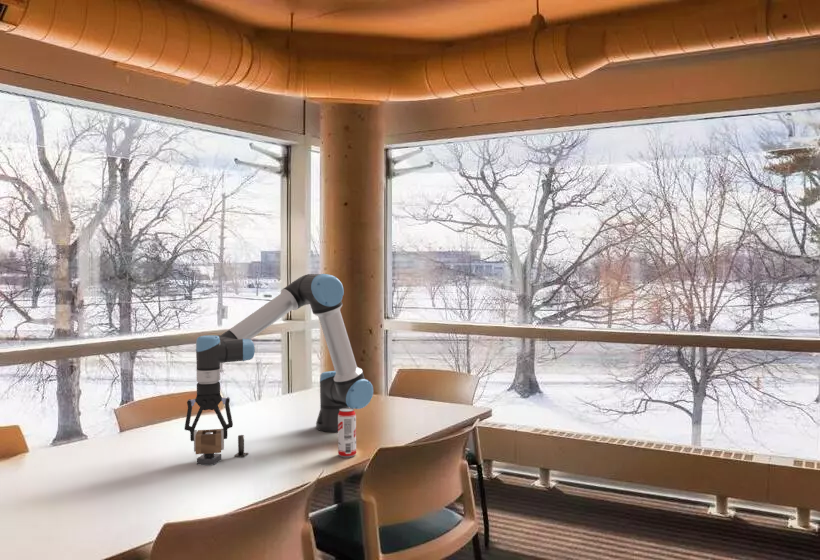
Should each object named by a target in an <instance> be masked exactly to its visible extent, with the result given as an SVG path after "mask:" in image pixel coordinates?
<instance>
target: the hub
mask: <svg viewBox="0 0 820 560" xmlns="http://www.w3.org/2000/svg"><path fill="white" fill-rule="evenodd" d="M205 434H213V432H207V433H205ZM222 455H223V454H222V453H209V454H200V456H198V457H197V458H196V465H198V464H201V465H204V466H215V465H217V463H219V462H220V461H222Z"/></svg>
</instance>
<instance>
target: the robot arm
mask: <svg viewBox="0 0 820 560" xmlns="http://www.w3.org/2000/svg"><path fill="white" fill-rule="evenodd" d="M344 291H345V290H344V286H343V283H342V281H340V279H339V278H337V276H334V275H332V274H329V273H328V274H327V273H320V274H319V273H317V274H316V273H308V274H305V275H302V276H300V277H298V278H297V279H295V280H294V281H292V282H291V283H290V284H288V285H286V286H285V287H283V288H282V289H281V290H280V294H278V295H277V296H275V297H274V298H273V299H271V300H269V301H268V302H267V303H265V304H264V305H262V306H261V307H260V308H258V309H256V310H255V311H254V312H252V313H251V314H249V315H248V316H247V317H245V318H244V319H242V320H240V321H239V322H238V323H237V324H235V325H234V326H232V327H230V328H229V329H228V330H226V331H225V332H224V333H221V334H218V335H215V334H213V335H212V334H211V335H209V334H207V335H205V334H204V335H201V336H200V335H199V336H198V337H197V338H196V342H195V354H196V355H195V356H196V358H195V359H196V381H197V384H196V397H195V398H192V399H188V400H187V401H186V404H187V411H186V412H187V413H186V418H185V422H184V423H185V424H184V431H189V432H190V438H189V440H190V442H193V452H194V453H196V442H195V436H196V434H197V431H198V429H196V427H197V425H198V422H199V420H200V417H201V415H202V413H203V411H213V410H214V413H215V414H216V416H217V418H218V420H219V423H220V425H221V427H222V428H220V429H221V451H224V450H225V440H227V439H228V430H229V429H230V428H231V429H232V428H233V426H234V424H233V423H234V422H233V418H232V412H231V407H230V400H231V398H230V397H229V396H228V397H223V396H222V395H221V382H220V380H221V364H224V363H233V362H234V363H236V362H245V361H251V360H253V358H254V357H255V352H256V351H255V350H256V347H255V344H254V341H253V340H252V339H253V338H255V337H256V336H257V335H259V334H261V333H262V332H263V331H264V330H266V329H267V328H269V327H270V326H271V325H273V324H275V323H276V322H277V321H278V320H280V319H281V318H283V317H284V316H285V315H287V314H289V313H290V312H291V311H297V310H298V309H300V308H301V307H303V306H306V305H308V306H309V305H310V309H311V312H312V314H313V315H315V316H316V317H318V321H319V323H320V326H321V330H322V334H323V336H324V339H325V342H326V345H327V346H326V347H327V349H328V353H329V356H330V359H331V363H332V365H333V369H334V370H329V371H323V372H321V374H320V376H319V390H320V391H319V393H320V394H319V397H320V398H319V399H320V403H319V404H320V405H319V406H320V408H319V412H318V416H317V419H316V423H315V425H316V426H315V429H316V430H318V431H320V432H325V433H326V432H329V433H333V432H334V433H338V413H339V411H340V409H342V408H353V409H354V410H361V409H363V408H365V407H367V406H368V405H369V404H370V402H371V400H372V398H373V396H374V385H373V384H372V383H371V381H369V379H366V378H365V375H364V372H363V371H364V370H363V369H362V368H361V367H358V365H357V362H356V358H355V355H354V351H353V348H352V345H351V342H350V338H349V335H348V332H347V329H346V325H345V323H344V322H345V321H344V319H343V315H342V313H341V312H342V311H341V309H342V307H343V301H342V300H343V296H345V295H344V294H345V292H344ZM221 402H222V404H223V405H224V408H225V413H226V418H227V422H226V419H225V418H224V415H223V413H222V412H221V410H220V407H219V404H220V403H221ZM195 403H196V404H197V406H198V407H199V408H198V411H197V413H196V416H195V417H194V421H193V422H192V425H191V424H190V423H191V418H192V412H193V406H194V405H195Z"/></svg>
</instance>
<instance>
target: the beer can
mask: <svg viewBox="0 0 820 560" xmlns="http://www.w3.org/2000/svg"><path fill="white" fill-rule="evenodd" d="M337 454H338V456H340V458H345V459H346V458H353V457H354V456H355V455H356V454H357V415H356V412H355V409H353V408H342V409H340V411H339V413H338V432H337Z"/></svg>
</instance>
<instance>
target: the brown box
mask: <svg viewBox="0 0 820 560" xmlns="http://www.w3.org/2000/svg"><path fill="white" fill-rule="evenodd" d="M221 429H222V428H214V429H213V428H212V429H197V434H196V436H195V442H196V452H195V455H203V454H209V453H214V454H222V450H221ZM207 432H213V434H205V433H207Z"/></svg>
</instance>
